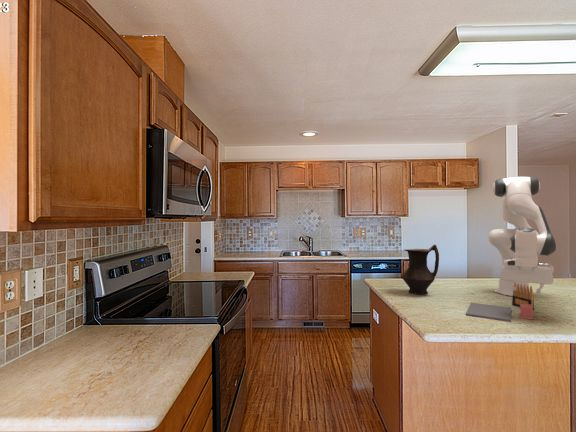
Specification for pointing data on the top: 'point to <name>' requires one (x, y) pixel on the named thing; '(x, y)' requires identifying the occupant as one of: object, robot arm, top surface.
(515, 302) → the ammunition clip
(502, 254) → the robot arm
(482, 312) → the mat
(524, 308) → the red rectangular block
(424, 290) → the jug
